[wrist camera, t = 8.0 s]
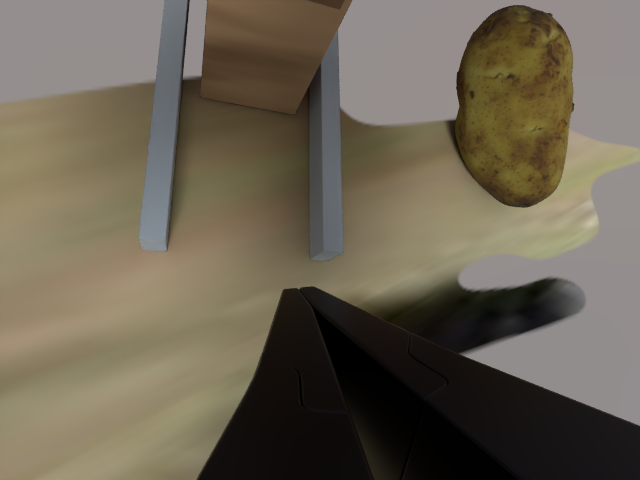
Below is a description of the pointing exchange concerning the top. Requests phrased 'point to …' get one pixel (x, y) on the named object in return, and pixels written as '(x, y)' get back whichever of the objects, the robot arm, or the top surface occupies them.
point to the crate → (266, 49)
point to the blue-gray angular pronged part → (165, 129)
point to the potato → (516, 104)
